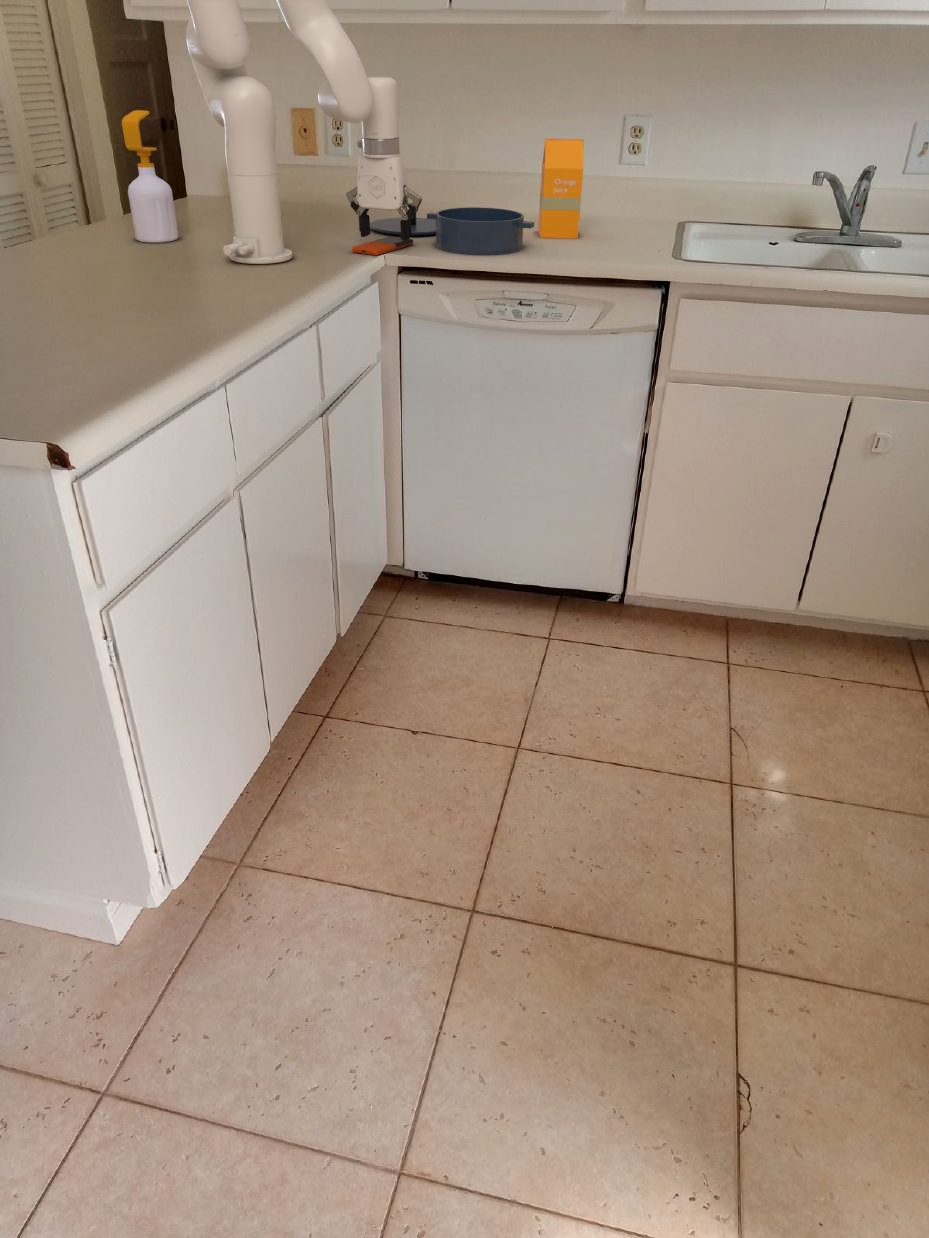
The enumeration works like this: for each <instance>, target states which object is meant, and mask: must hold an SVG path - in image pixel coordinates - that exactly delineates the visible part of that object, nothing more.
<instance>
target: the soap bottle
mask: <svg viewBox="0 0 929 1238" xmlns="http://www.w3.org/2000/svg"><path fill="white" fill-rule="evenodd" d="M150 114H151V113H150V111H149V110H140V109H136V110H133V111H131V112H129V113H128V114H126V115H125V116H123V118H122V120H121V127H122V132H123V138H124V144H125V145H124V146H125V148H126V149H127V150H128V151H131V152H132V151H134V152H136V155H137V156H138V157H140V158H139V159H140V162H139V163H137V170H138V176H137V177H136V178H135V179H134V180H132V181H131V183H130V184H128V188H127V196H128V203H129V207H130V213H131V219H132V226H133V231H134V236H135V240H136V241H138V242H141V243H146V244H147V243H149V244H161V243H169V242H170V243H171V242H174V241H177V240H178V239H179V231H178V223H177V216H176V210H175V202H174V196H173V189H172V188H171V186H170V184H168V183H167V182H166V181H165V180H163V179H162V178H160V177H159V176H157V174H156V169H155V163H153V162H150V156H152V153H151V152H153V151H154V152H155V151H158V148H157V147H151V146H143V145H142V136H141V132H140V131H141V130H140V122H141V120H143V119H144V118H146V117H147V116H149V115H150Z"/></svg>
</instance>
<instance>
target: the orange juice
mask: <svg viewBox="0 0 929 1238" xmlns="http://www.w3.org/2000/svg"><path fill="white" fill-rule="evenodd" d="M540 176H541V177H540V178H541V179H540V193H539V209H538V225H537V226H538V228H537V233H538V235H539V237H540V238H541V239H543V238H545V239H547V238H549V239H578V237H579V227H580V217H581V216H580V214H581V205H582V190H583V178H584V139H583V138H582V139H580V138H579V139H578V138H576V139H575V138H544V147H543V156H542V164H541V175H540Z"/></svg>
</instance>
